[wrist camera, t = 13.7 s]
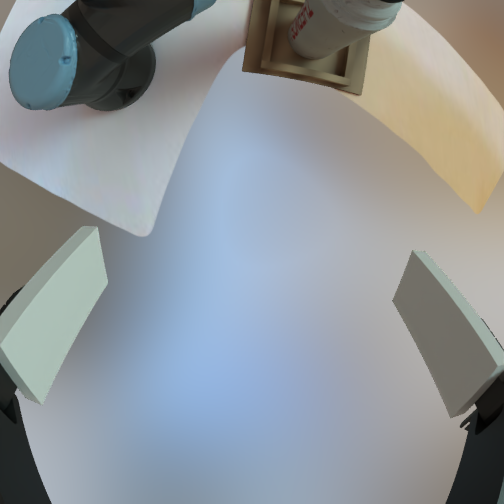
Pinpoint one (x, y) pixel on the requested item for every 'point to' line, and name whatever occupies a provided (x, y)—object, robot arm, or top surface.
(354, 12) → the thermos bottle
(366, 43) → the brown wooden tray
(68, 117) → the top surface
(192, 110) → the top surface
